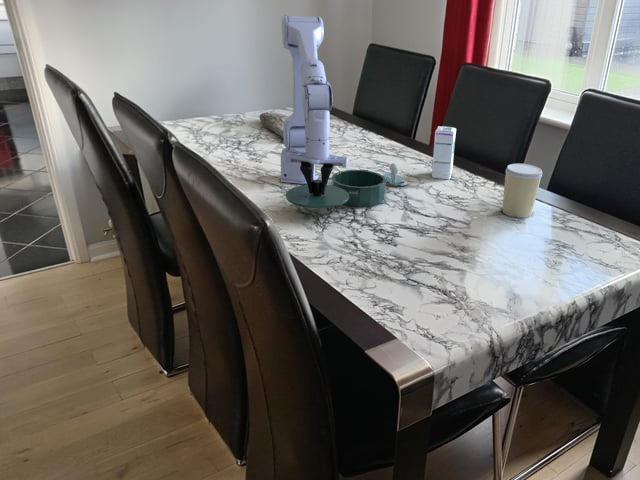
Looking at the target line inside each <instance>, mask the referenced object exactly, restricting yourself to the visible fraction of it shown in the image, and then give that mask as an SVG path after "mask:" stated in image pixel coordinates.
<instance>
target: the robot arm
mask: <svg viewBox="0 0 640 480" xmlns="http://www.w3.org/2000/svg"><path fill="white" fill-rule="evenodd" d="M324 31H325V30H324V21H323V19H322V17H321V16H319V15H318V16H303V15H302V16H299V15H287V14H284V15H283V17H282V18H281V36H282V37H281V38H282V39H281V40H282V45H283V49H286V50H288V51H289V52H290V55H291V66H292V67H291V68H292V69H291V70H292V71H291V72H292V73H291V74H292V107H293V109H292V110H293V113H292V114H290V115H289V116H288V117H285V118H286V119H285V122H284V129H283V138H284V139H283V138H282V139H283V146H284V148H282V150H281V153H280V182H281V183H289V184H301V185H308V189H309V193H311V194H312V193H313V180H318V178H319V177H320V178H321V179H320V180H322V185H321V195H324V194H325V193H326V187H327V185H328V183H329V179H330V178H331V174H332V172H333V170H334V168H335V167H341V168H344V169H346V168H347V167H348V165H349V157H345V156H338V155H336V154H335V155H334V154H330V118H331V117H330V114H331V113H330V111H332V109H333V103H334V102H333V101H334V99H333V98H334V95H333V89H332V85H331V84H330V82H329V81H327V76H326V71H325V66H324V64H323V62H322V61H321V60H319V59H318V49H319V48H320V46H321V44H322V42H323V41H324V34H325V33H324ZM316 165H320V166H321V165H322V166H321V167H320V176H319V174H316Z"/></svg>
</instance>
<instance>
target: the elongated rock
mask: <svg viewBox="0 0 640 480" xmlns="http://www.w3.org/2000/svg"><path fill="white" fill-rule="evenodd" d="M286 118H287V117H286V116H285V117H284V116H283V115H279V114H276V113H271V112H268V111H265V112H262V113H260V114H259V121H260V122H262V124H263V125H264V128H267V129H269V130H270V131H273V132H274V134H276V135H278V136H279V137H280V138H281V139H282V140H284V138H283V129H284V122H285V119H286Z"/></svg>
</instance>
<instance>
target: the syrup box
mask: <svg viewBox="0 0 640 480" xmlns="http://www.w3.org/2000/svg"><path fill="white" fill-rule="evenodd" d="M456 134H457V128H456V127H453V126H443V125H442V126H440V125H438V126H437V128H436V129H435V132H434V141H433V142H434V143H433V154H432V156H433V157H432V167H431V178H433V179H439V180H440V179H441V180H450V179H451V177H452V174H453V165H454V154H455V146H456V145H455V144H456Z"/></svg>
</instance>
